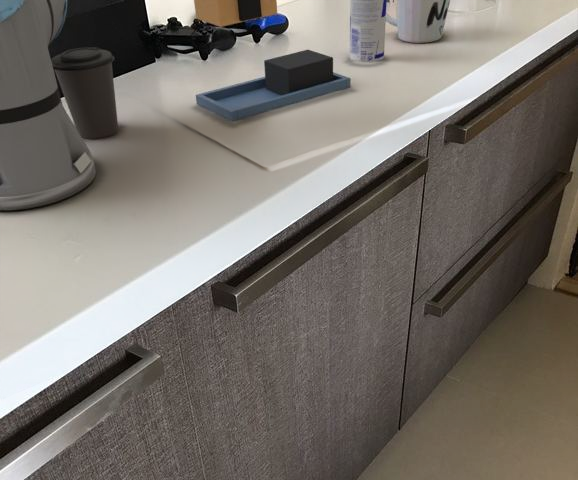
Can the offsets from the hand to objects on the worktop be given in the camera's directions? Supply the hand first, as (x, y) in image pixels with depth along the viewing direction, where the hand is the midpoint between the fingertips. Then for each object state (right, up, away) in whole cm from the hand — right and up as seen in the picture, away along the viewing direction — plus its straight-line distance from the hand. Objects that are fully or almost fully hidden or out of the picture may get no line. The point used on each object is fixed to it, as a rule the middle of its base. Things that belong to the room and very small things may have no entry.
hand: (236, 13), depth 81 cm
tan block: (0, 0, 0) cm, 0 cm away
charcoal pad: (+8, -1, +17) cm, 19 cm away
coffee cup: (-19, -11, +9) cm, 24 cm away
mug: (+28, +17, +38) cm, 50 cm away
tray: (+4, -4, +16) cm, 17 cm away
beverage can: (+19, +8, +28) cm, 35 cm away
